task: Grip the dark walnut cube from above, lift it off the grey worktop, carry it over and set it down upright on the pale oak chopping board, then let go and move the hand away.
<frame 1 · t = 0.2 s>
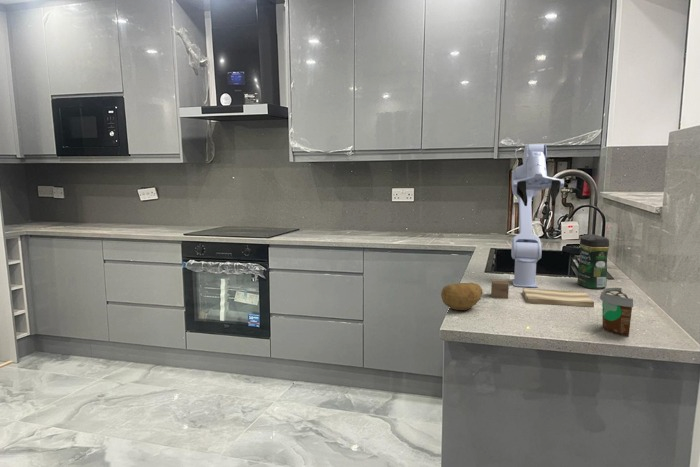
hand: (539, 203, 142), 31 cm above the worktop, tool tilted 45°, fingers open, 7 cm apart
coffee jar: (591, 286, 171), on the worktop
oak board: (556, 299, 154), on the worktop
walnut cube: (499, 296, 158), on the worktop
food container: (610, 330, 125), on the worktop
potato: (462, 309, 144), on the worktop
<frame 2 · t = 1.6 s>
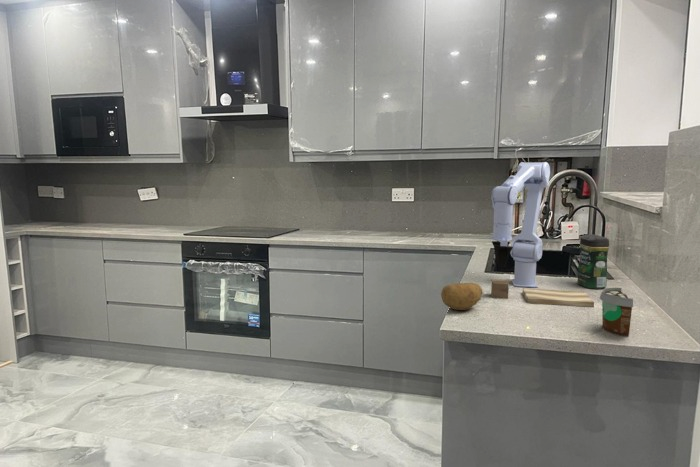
hand: (500, 264, 156), 11 cm above the worktop, tool pointing down, fingers open, 7 cm apart
nothing on the worktop moved.
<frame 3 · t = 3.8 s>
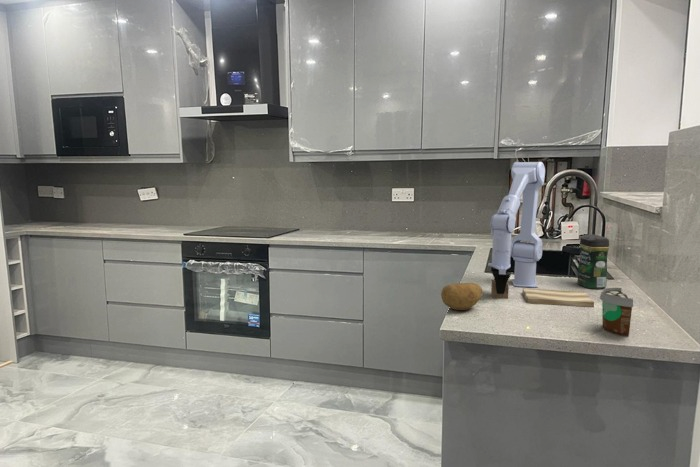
hand: (499, 291, 157), 2 cm above the worktop, tool pointing down, fingers closed on walnut cube, 5 cm apart
walnut cube: (499, 296, 158), on the worktop, touching gripper
everything else where it was.
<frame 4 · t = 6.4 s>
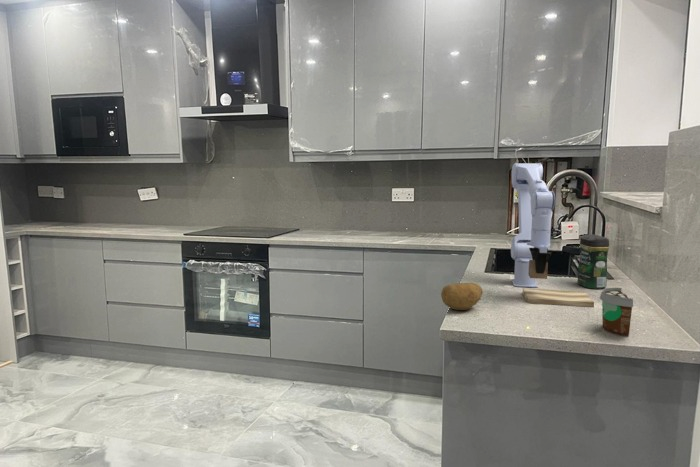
hand: (538, 271, 154), 9 cm above the worktop, tool pointing down, fingers closed on walnut cube, 5 cm apart
walnut cube: (537, 276, 154), point 7 cm above the worktop, touching gripper
everything else where it was.
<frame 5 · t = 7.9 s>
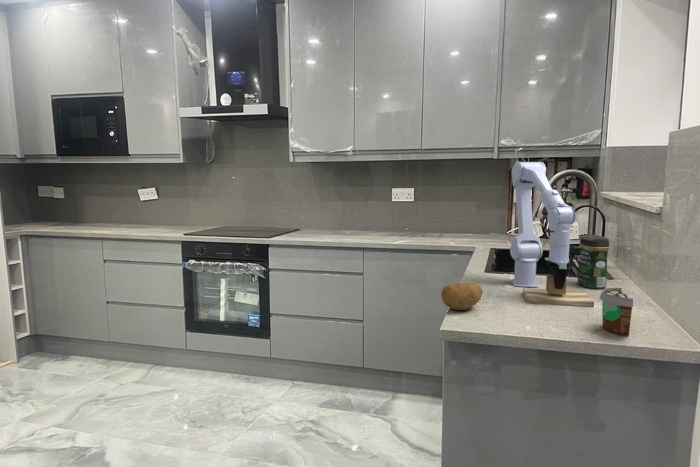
hand: (557, 286, 153), 4 cm above the worktop, tool pointing down, fingers closed on walnut cube, 5 cm apart
walnut cube: (555, 292, 154), point 2 cm above the worktop, touching gripper
everything else where it was.
when the fingers open (4 cm above the worktop, at t = 8.7 s): walnut cube stays where it is, resting on oak board.
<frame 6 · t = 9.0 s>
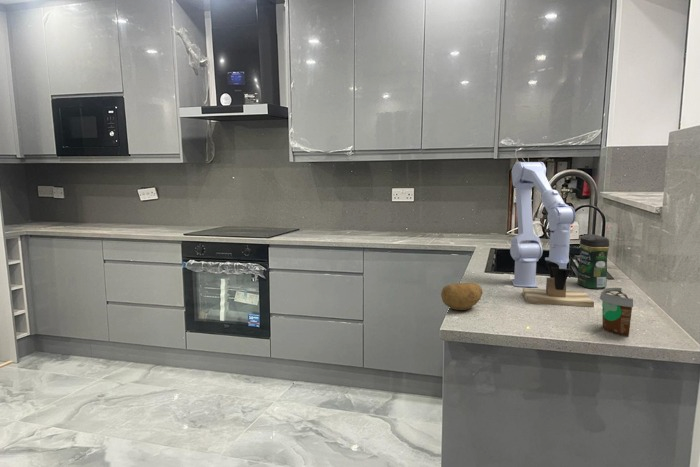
hand: (557, 286, 153), 4 cm above the worktop, tool pointing down, fingers open, 7 cm apart
walnut cube: (555, 294, 154), point 1 cm above the worktop, touching oak board
everything else where it was.
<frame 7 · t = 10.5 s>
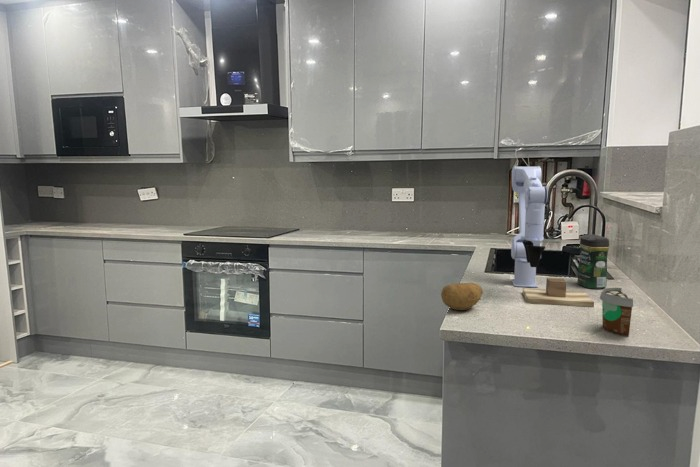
hand: (532, 264, 157), 10 cm above the worktop, tool pointing down, fingers open, 7 cm apart
nothing on the worktop moved.
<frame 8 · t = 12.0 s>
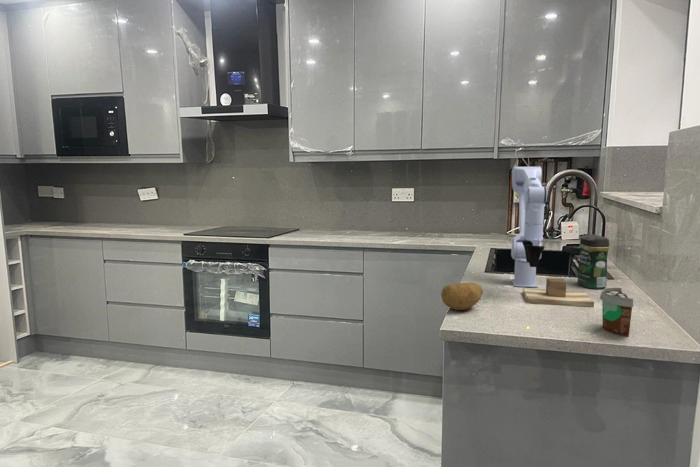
hand: (531, 264, 157), 10 cm above the worktop, tool pointing down, fingers open, 7 cm apart
nothing on the worktop moved.
at the end: walnut cube inside the target area on the oak board (0.3 cm from its centre), point 1.5 cm above the oak board's base; walnut cube tilted 0°; the gripper is holding nothing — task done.
